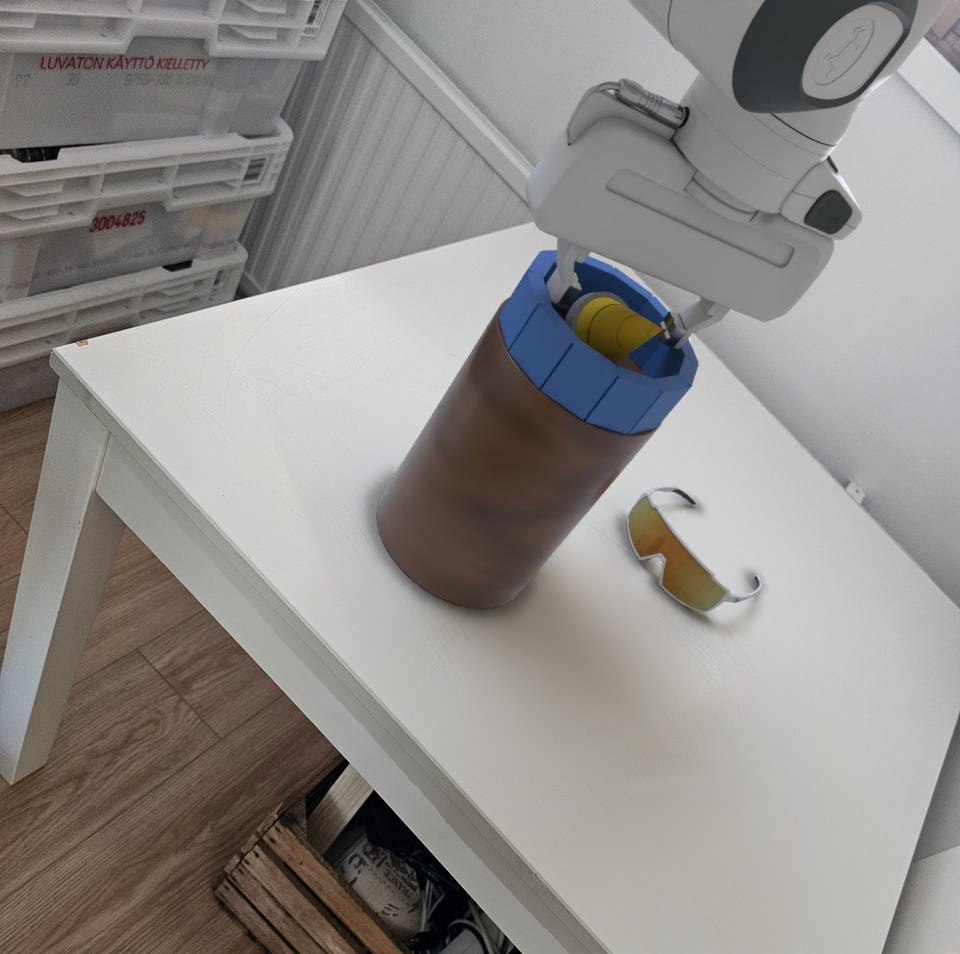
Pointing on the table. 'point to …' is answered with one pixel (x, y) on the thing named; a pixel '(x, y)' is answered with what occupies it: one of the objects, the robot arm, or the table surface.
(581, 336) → the yellow tiered cone
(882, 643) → the table surface
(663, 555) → the sunglasses
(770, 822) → the table surface
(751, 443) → the table surface
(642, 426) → the blue segmented ring
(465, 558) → the stand
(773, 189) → the robot arm
